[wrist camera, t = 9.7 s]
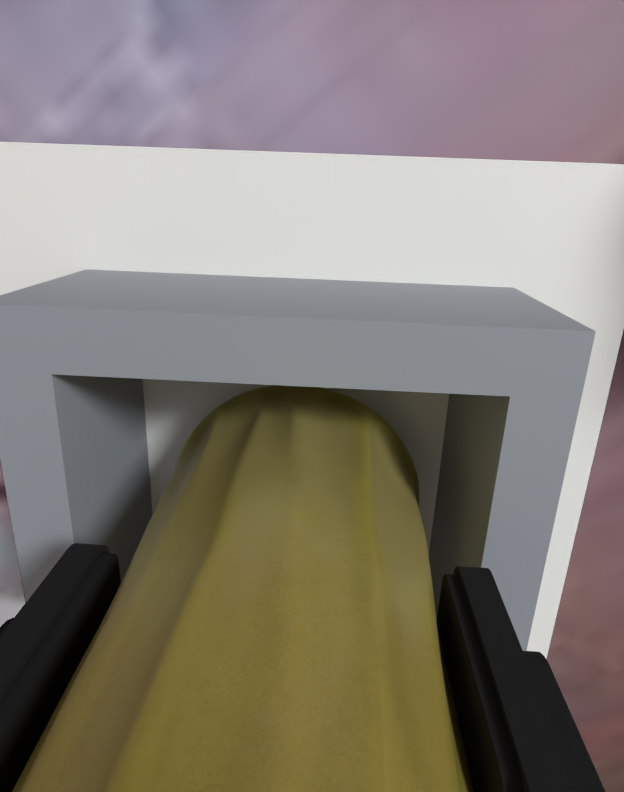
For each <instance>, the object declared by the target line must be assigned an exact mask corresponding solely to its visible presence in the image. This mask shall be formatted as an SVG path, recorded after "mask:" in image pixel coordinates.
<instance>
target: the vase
mask: <svg viewBox="0 0 624 792" xmlns="http://www.w3.org/2000/svg"><path fill="white" fill-rule="evenodd" d="M12 792H474V791H473V786H472V781H471V776H470V771H469V766H468V761H467V757H466V752H465V748H464V743H463V739H462V735H461V730H460V726H459V721H458V716H457V711H456V706H455V701H454V697H453V692H452V687H451V683H450V678H449V674H448V670H447V665H446V661H445V657H444V653H443V649H442V645H441V641H440V637H439V633H438V629H437V621H436V612H435V602H434V593H433V585H432V577H431V569H430V562H429V555H428V548H427V542H426V536H425V532H424V527H423V523H422V519H421V514H420V511H419V483H418V476H417V472H416V469H415V467H414V463H413V460H412V458H411V456H410V454H409V452H408V450H407V448H406V447H405V445H404V444H403V442H402V441H401V439H400V437H399V436H398V435H397V434H396V432H395V431H394V430H393V429H392V427H391V426H390V425H389V424H388V423H387V422H386V421H385V420H384V419H383V418H382V417H381V416H380V415H378V414H377V413H376V412H375V411H374V410H372V409H371V408H369V407H368V406H366V405H364V404H363V403H361V402H359V401H357V400H355V399H353V398H351V397H349V396H346V395H344V394H341V393H338V392H335V391H332V390H328V389H325V388H321V387H302V386H282V385H272V386H267V387H262V388H258V389H254V390H251V391H248V392H245V393H242V394H240V395H237V396H235V397H233V398H231V399H229V400H227V401H226V402H224V403H222V404H221V405H219V406H218V407H217V408H215V409H214V410H213V411H212V412H210V413H209V414H208V415H207V416H206V417H205V418H204V419H203V420H202V421H201V422H200V423H199V424H198V426H197V427H196V428H195V429H194V430H193V432H192V433H191V435H190V436H189V437H188V439H187V441H186V442H185V444H184V446H183V448H182V450H181V452H180V454H179V457H178V459H177V464H176V468H175V472H174V475H173V476H172V478H171V480H170V481H169V483H168V485H167V486H166V488H165V490H164V492H163V494H162V496H161V498H160V500H159V503H158V505H157V507H156V509H155V511H154V513H153V515H152V517H151V519H150V521H149V523H148V525H147V528H146V530H145V532H144V534H143V537H142V539H141V541H140V543H139V545H138V548H137V550H136V552H135V554H134V556H133V558H132V560H131V563H130V565H129V567H128V569H127V571H126V573H125V575H124V578H123V580H122V582H121V584H120V586H119V588H118V591H117V593H116V595H115V597H114V599H113V601H112V603H111V605H110V607H109V609H108V611H107V613H106V615H105V617H104V619H103V621H102V622H101V624H100V626H99V628H98V630H97V632H96V634H95V636H94V637H93V639H92V641H91V643H90V644H89V646H88V648H87V650H86V652H85V654H84V656H83V657H82V659H81V661H80V663H79V665H78V667H77V669H76V671H75V672H74V674H73V676H72V678H71V680H70V682H69V684H68V686H67V688H66V690H65V691H64V693H63V695H62V697H61V699H60V701H59V703H58V705H57V707H56V709H55V711H54V712H53V714H52V716H51V718H50V720H49V722H48V724H47V726H46V728H45V730H44V732H43V734H42V736H41V737H40V739H39V741H38V743H37V745H36V747H35V749H34V751H33V753H32V755H31V757H30V758H29V760H28V762H27V764H26V766H25V768H24V770H23V772H22V774H21V776H20V777H19V779H18V781H17V783H16V785H15V787H14V789H13V790H12Z"/></svg>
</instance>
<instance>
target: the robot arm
mask: <svg viewBox="0 0 624 792" xmlns="http://www.w3.org/2000/svg"><path fill="white" fill-rule="evenodd" d="M120 584H121V579H120V569H119V560H118V557H117V555H116V554H110V553H109V549H108V547H107V546H106V545H97V544H80V543H74V544H72V545H71V546H70V547H69V548H68V549H67V550H66V551H65V553H64V554H63V555H62V557H61V558H60V559H59V561H58V562H57V563H56V564H55V566H54V567H53V568H52V570H51V571H50V572H49V574H48V575H47V576H46V577H45V579H44V580H43V581H42V583H41V584H40V585H39V587H38V588H37V589H36V590H35V592H34V593H33V594H32V596H31V597H30V598H29V599H28V601H27V602H26V603H25V605H24V606H23V607H22V609H21V610H20V611H19V613H18V614H17V615H16V616H15V618H12V619H10V620H7V621H6V622H5V623H4V624H3V625H2V626H1V627H0V792H12V790H13V789H14V787H15V785H16V783H17V781H18V779H19V777H20V776H21V774H22V772H23V770H24V768H25V766H26V764H27V762H28V760H29V758H30V757H31V755H32V753H33V751H34V749H35V747H36V745H37V743H38V741H39V739H40V737H41V736H42V734H43V732H44V730H45V728H46V726H47V724H48V722H49V720H50V718H51V716H52V714H53V712H54V711H55V709H56V707H57V705H58V703H59V701H60V699H61V697H62V695H63V693H64V691H65V690H66V688H67V686H68V684H69V682H70V680H71V678H72V676H73V674H74V672H75V671H76V669H77V667H78V665H79V663H80V661H81V659H82V657H83V656H84V654H85V652H86V650H87V648H88V646H89V644H90V643H91V641H92V639H93V637H94V636H95V634H96V632H97V630H98V628H99V626H100V624H101V622H102V621H103V619H104V617H105V615H106V613H107V611H108V609H109V607H110V605H111V603H112V601H113V599H114V597H115V595H116V593H117V591H118V588H119V586H120ZM437 629H438V633H439V637H440V641H441V645H442V649H443V653H444V657H445V661H446V665H447V670H448V674H449V678H450V683H451V687H452V692H453V697H454V701H455V706H456V711H457V716H458V721H459V726H460V730H461V735H462V739H463V743H464V748H465V752H466V757H467V761H468V766H469V771H470V776H471V781H472V786H473V791H474V792H605V790H604V788H603V785H602V783H601V781H600V779H599V776H598V774H597V772H596V770H595V767H594V765H593V763H592V761H591V758H590V756H589V754H588V752H587V749H586V747H585V745H584V743H583V740H582V738H581V736H580V733H579V731H578V729H577V727H576V724H575V722H574V720H573V718H572V715H571V713H570V711H569V709H568V706H567V704H566V702H565V700H564V697H563V695H562V693H561V691H560V688H559V686H558V684H557V681H556V679H555V677H554V675H553V672H552V670H551V668H550V666H549V664H548V662H547V660H546V658H545V656H544V655H543V654H541V653H540V652H535V651H523V650H522V648H521V645H520V643H519V640H518V638H517V635H516V632H515V630H514V627H513V625H512V622H511V620H510V617H509V615H508V612H507V610H506V607H505V605H504V602H503V600H502V597H501V595H500V592H499V590H498V587H497V585H496V582H495V580H494V577H493V575H492V572H491V571H490V569H488V568H480V567H463V566H457V567H455V569H454V573H453V574H444V576H443V579H442V585H441V592H440V599H439V607H438V614H437Z"/></svg>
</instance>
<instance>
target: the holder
mask: <svg viewBox="0 0 624 792" xmlns="http://www.w3.org/2000/svg"><path fill="white" fill-rule="evenodd" d="M623 330H624V164H600V163H572V162H544V161H517V160H489V159H461V158H434V157H406V156H378V155H351V154H323V153H295V152H268V151H240V150H212V149H185V148H157V147H129V146H102V145H74V144H46V143H19V142H0V460H1V466H2V472H3V477H4V483H5V489H6V495H7V500H8V506H9V512H10V517H11V523H12V529H13V534H14V540H15V546H16V551H17V557H18V563H19V568H20V574H21V580H22V585H23V591H24V597H25V602H27V601H28V599H29V598H30V597H31V596H32V594H33V593H34V592H35V590H36V589H37V588H38V587H39V585H40V584H41V583H42V581H43V580H44V579H45V577H46V576H47V575H48V574H49V572H50V571H51V570H52V568H53V567H54V566H55V564H56V563H57V562H58V561H59V559H60V558H61V557H62V555H63V554H64V553H65V551H66V550H67V549H68V548H69V547H70V546H71V545H72V544H74V543H80V544H97V545H106V546H107V547H108V549H109V553H110V554H116V555H117V557H118V560H119V569H120V579H121V582H122V580H123V578H124V575H125V573H126V571H127V569H128V567H129V565H130V563H131V560H132V558H133V556H134V554H135V552H136V550H137V548H138V545H139V543H140V541H141V539H142V537H143V534H144V532H145V530H146V528H147V525H148V523H149V521H150V519H151V517H152V515H153V513H154V511H155V509H156V507H157V505H158V503H159V500H160V498H161V496H162V494H163V492H164V490H165V488H166V486H167V485H168V483H169V481H170V480H171V478H172V476H173V475H174V472H175V468H176V464H177V459H178V457H179V454H180V452H181V450H182V448H183V446H184V444H185V442H186V441H187V439H188V437H189V436H190V435H191V433H192V432H193V430H194V429H195V428H196V427H197V426H198V424H199V423H200V422H201V421H202V420H203V419H204V418H205V417H206V416H207V415H208V414H209V413H210V412H212V411H213V410H214V409H215V408H217V407H218V406H219V405H221V404H222V403H224V402H226V401H227V400H229V399H231V398H233V397H235V396H237V395H240V394H242V393H245V392H248V391H251V390H254V389H258V388H262V387H267V386H272V385H282V386H302V387H321V388H325V389H328V390H332V391H335V392H338V393H341V394H344V395H346V396H349V397H351V398H353V399H355V400H357V401H359V402H361V403H363V404H364V405H366V406H368V407H369V408H371V409H372V410H374V411H375V412H376V413H377V414H378V415H380V416H381V417H382V418H383V419H384V420H385V421H386V422H387V423H388V424H389V425H390V426H391V427H392V429H393V430H394V431H395V432H396V434H397V435H398V436H399V437H400V439H401V441H402V442H403V444H404V445H405V447H406V448H407V450H408V452H409V454H410V456H411V458H412V460H413V463H414V467H415V469H416V472H417V476H418V483H419V511H420V514H421V519H422V523H423V527H424V532H425V536H426V542H427V548H428V555H429V562H430V569H431V577H432V585H433V593H434V602H435V612H436V621H437V614H438V607H439V599H440V592H441V585H442V579H443V576H444V574H453V573H454V569H455V567H457V566H463V567H480V568H488V569H490V571H491V572H492V575H493V577H494V580H495V582H496V585H497V587H498V590H499V592H500V595H501V597H502V600H503V602H504V605H505V607H506V610H507V612H508V615H509V617H510V620H511V622H512V625H513V627H514V630H515V632H516V635H517V638H518V640H519V643H520V645H521V648H522V650H523V651H535V652H540V653H541V654H543V655H544V656H545V658H547V654H548V649H549V645H550V641H551V637H552V632H553V628H554V624H555V620H556V615H557V611H558V607H559V602H560V598H561V594H562V590H563V585H564V581H565V577H566V573H567V568H568V564H569V560H570V556H571V551H572V547H573V543H574V539H575V534H576V530H577V526H578V521H579V517H580V513H581V509H582V504H583V500H584V496H585V492H586V487H587V483H588V479H589V475H590V470H591V466H592V462H593V458H594V453H595V449H596V445H597V440H598V436H599V432H600V428H601V423H602V419H603V415H604V411H605V406H606V402H607V398H608V394H609V389H610V385H611V381H612V377H613V372H614V368H615V364H616V359H617V355H618V351H619V347H620V342H621V338H622V334H623Z"/></svg>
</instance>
